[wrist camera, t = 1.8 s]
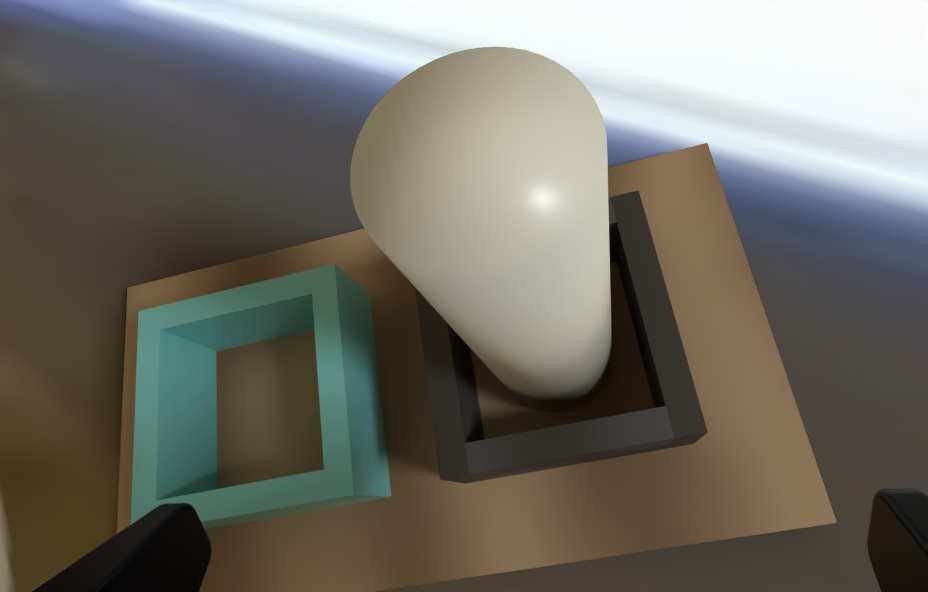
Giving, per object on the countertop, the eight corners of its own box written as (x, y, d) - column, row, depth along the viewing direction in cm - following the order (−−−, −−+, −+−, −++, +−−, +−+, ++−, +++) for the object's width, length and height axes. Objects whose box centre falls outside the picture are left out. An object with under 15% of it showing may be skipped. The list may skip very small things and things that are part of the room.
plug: (573, 434, 19) (511, 328, 8) (475, 372, 20) (303, 205, 9) (633, 335, 19) (657, 101, 8) (535, 281, 21) (440, 15, 9)
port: (370, 294, 22) (334, 263, 19) (391, 496, 19) (354, 494, 17) (196, 334, 23) (138, 310, 20) (196, 530, 20) (130, 534, 18)
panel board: (703, 158, 22) (721, 87, 18) (825, 522, 17) (881, 525, 14) (145, 295, 25) (64, 259, 21) (134, 625, 21) (32, 650, 17)
